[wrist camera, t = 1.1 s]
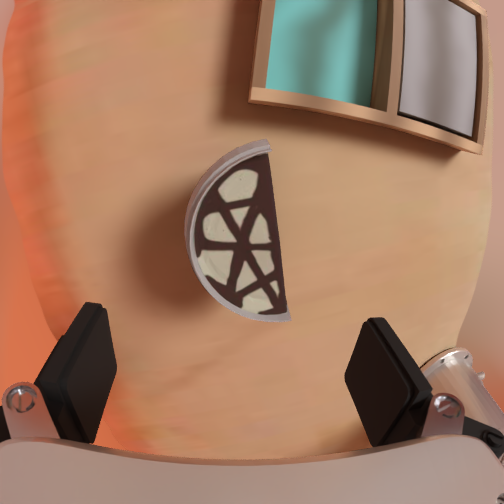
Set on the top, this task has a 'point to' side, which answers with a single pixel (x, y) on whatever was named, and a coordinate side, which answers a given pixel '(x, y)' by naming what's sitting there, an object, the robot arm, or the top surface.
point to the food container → (238, 235)
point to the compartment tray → (378, 64)
